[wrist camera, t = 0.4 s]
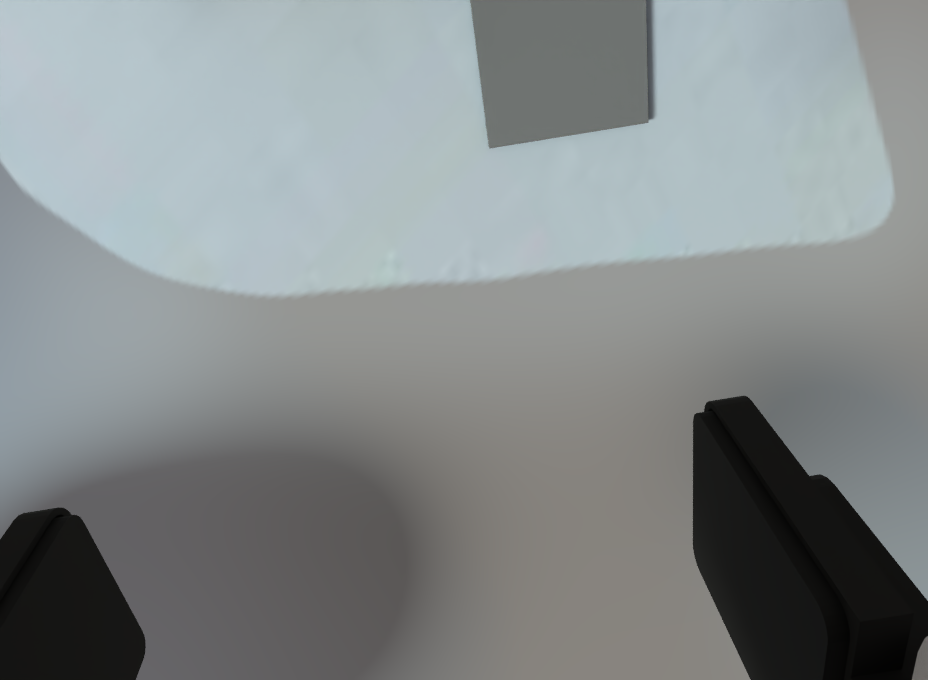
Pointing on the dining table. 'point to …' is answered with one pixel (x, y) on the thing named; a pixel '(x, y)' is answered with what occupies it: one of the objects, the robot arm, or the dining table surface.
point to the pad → (560, 67)
